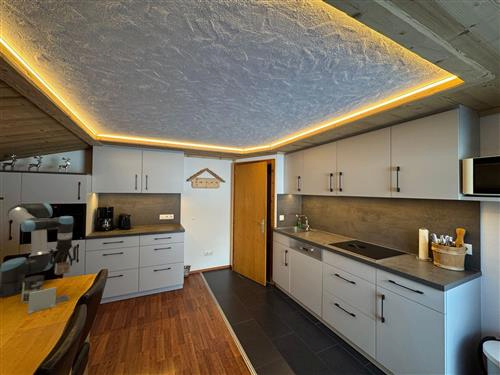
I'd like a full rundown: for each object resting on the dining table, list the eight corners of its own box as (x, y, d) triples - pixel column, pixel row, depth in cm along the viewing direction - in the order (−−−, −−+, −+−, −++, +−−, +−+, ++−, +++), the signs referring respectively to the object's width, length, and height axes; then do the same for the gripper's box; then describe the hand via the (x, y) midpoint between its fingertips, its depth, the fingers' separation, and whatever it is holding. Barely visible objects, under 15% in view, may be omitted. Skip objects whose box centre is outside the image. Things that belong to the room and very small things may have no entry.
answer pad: (51, 299, 139) (51, 298, 139) (66, 295, 145) (67, 294, 145) (52, 304, 134) (52, 303, 134) (68, 300, 140) (68, 299, 140)
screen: (27, 311, 125) (29, 291, 126) (54, 304, 134) (55, 285, 134) (27, 314, 122) (29, 294, 122) (55, 307, 131) (56, 288, 131)
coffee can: (46, 296, 143) (48, 276, 143) (28, 303, 133) (30, 282, 133) (35, 293, 145) (37, 274, 146) (16, 301, 135) (18, 280, 135)
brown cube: (55, 272, 140) (56, 263, 140) (67, 270, 144) (68, 261, 144) (56, 275, 135) (57, 266, 136) (68, 272, 140) (69, 264, 140)
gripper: (45, 241, 131) (42, 277, 130) (83, 237, 145) (80, 270, 144) (45, 239, 136) (42, 273, 135) (81, 235, 150) (79, 267, 149)
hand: (62, 271), depth 140 cm, fingers closed on brown cube, 6 cm apart
